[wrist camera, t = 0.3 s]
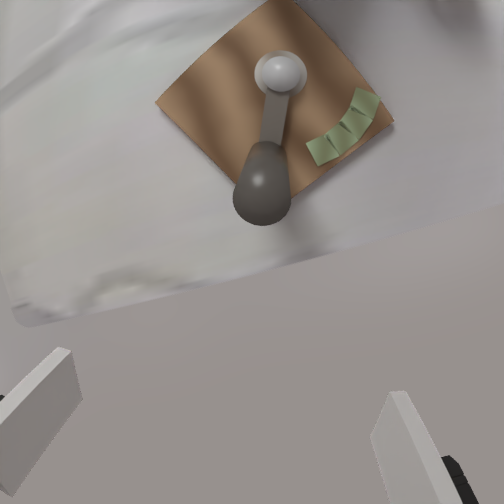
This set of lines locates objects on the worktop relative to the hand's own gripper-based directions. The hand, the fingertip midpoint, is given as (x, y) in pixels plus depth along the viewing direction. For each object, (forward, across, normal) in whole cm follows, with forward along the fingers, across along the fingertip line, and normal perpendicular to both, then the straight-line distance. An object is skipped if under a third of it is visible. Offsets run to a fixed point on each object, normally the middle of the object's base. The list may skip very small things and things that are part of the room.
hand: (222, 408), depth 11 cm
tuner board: (+24, +1, +16) cm, 29 cm away
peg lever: (+23, +1, +15) cm, 27 cm away
